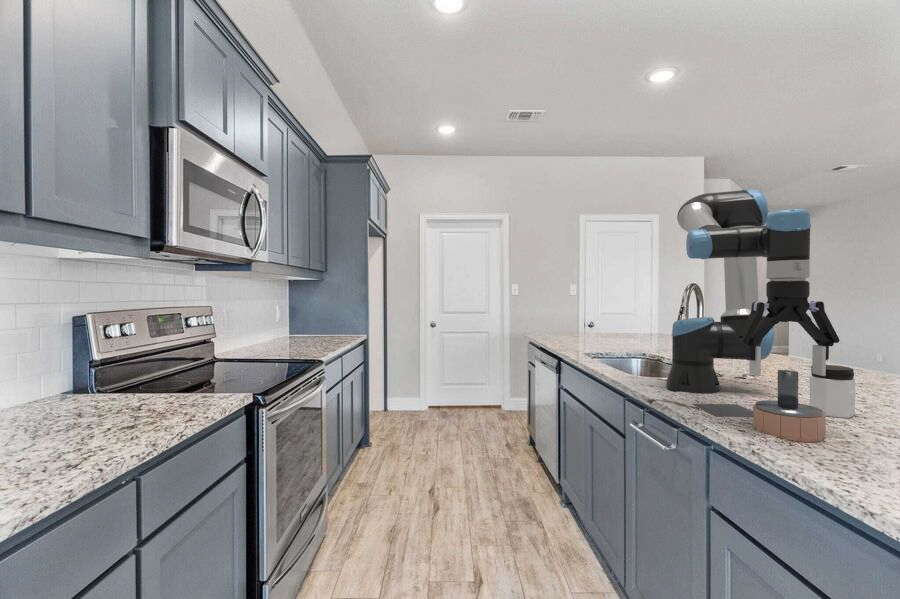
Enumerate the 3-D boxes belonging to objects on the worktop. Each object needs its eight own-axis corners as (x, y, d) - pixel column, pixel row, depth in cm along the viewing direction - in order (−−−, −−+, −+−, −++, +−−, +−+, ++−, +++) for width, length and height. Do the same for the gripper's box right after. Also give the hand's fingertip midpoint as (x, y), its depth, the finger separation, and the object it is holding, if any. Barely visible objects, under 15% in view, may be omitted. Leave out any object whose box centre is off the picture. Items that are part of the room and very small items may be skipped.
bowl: (741, 423, 101) (741, 402, 100) (795, 424, 100) (795, 403, 100) (777, 441, 88) (777, 418, 88) (840, 442, 87) (840, 419, 87)
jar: (847, 420, 102) (848, 371, 102) (805, 412, 109) (805, 366, 109) (858, 414, 107) (858, 367, 107) (817, 407, 114) (817, 363, 114)
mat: (691, 406, 117) (691, 403, 117) (736, 406, 116) (736, 404, 116) (715, 418, 105) (715, 416, 105) (766, 419, 104) (766, 417, 104)
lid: (744, 403, 100) (744, 366, 100) (796, 403, 99) (796, 366, 99) (778, 417, 89) (778, 376, 88) (837, 418, 88) (837, 376, 88)
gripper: (739, 280, 91) (738, 378, 91) (862, 278, 89) (861, 378, 90) (719, 281, 98) (719, 371, 99) (832, 279, 96) (831, 371, 97)
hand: (786, 374), depth 94 cm, fingers open, 13 cm apart
